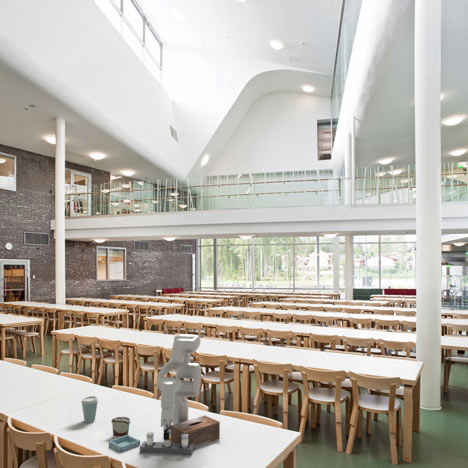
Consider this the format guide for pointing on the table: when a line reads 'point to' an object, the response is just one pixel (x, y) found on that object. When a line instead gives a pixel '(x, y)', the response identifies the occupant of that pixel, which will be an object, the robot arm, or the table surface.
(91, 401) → the disposable coffee cup
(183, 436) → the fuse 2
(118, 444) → the tray
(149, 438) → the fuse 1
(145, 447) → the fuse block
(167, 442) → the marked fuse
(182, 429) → the tissue box cover
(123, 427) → the food container
